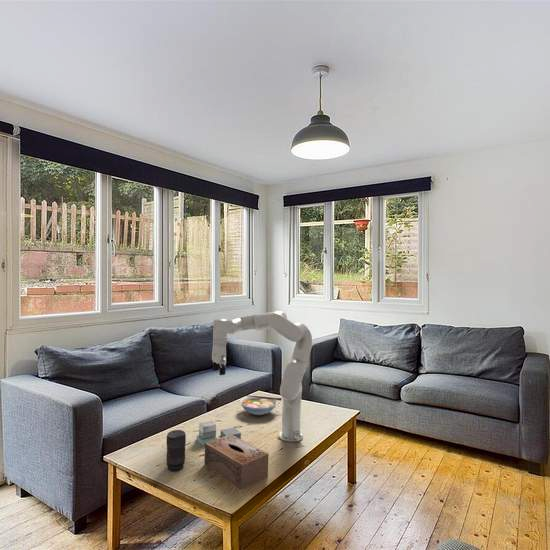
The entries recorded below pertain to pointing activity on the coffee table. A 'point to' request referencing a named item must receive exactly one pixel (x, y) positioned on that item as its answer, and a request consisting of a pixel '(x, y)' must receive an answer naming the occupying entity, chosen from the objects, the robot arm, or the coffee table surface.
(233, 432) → the stand
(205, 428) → the block
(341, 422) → the coffee table surface
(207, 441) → the stand
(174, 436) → the camera lens
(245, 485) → the tissue box cover
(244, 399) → the ramen bowl
